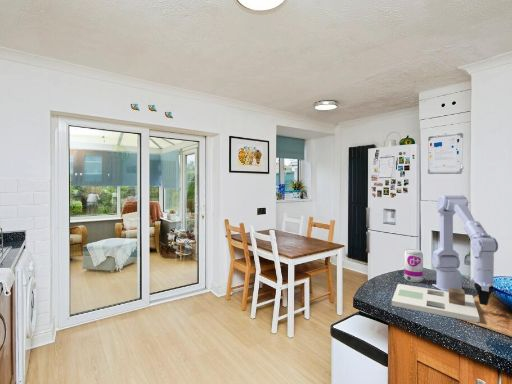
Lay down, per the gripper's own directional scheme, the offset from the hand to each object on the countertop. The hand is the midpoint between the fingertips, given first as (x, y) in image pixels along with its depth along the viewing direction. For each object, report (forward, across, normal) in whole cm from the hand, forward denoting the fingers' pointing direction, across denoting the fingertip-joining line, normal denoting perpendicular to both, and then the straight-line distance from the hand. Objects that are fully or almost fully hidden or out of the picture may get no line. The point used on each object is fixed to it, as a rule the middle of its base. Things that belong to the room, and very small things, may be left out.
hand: (483, 304), depth 109 cm
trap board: (+3, +1, -15) cm, 16 cm away
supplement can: (+3, -26, -26) cm, 37 cm away
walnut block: (+1, 0, -8) cm, 8 cm away
